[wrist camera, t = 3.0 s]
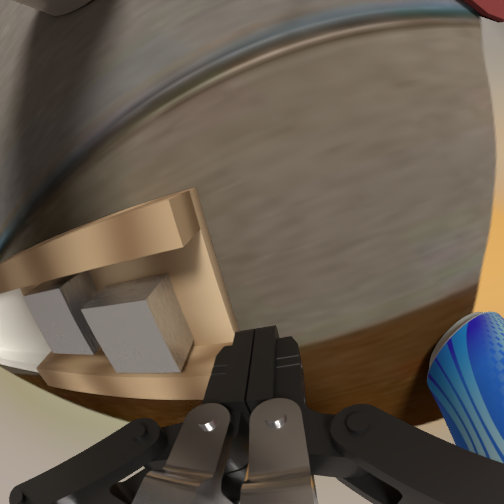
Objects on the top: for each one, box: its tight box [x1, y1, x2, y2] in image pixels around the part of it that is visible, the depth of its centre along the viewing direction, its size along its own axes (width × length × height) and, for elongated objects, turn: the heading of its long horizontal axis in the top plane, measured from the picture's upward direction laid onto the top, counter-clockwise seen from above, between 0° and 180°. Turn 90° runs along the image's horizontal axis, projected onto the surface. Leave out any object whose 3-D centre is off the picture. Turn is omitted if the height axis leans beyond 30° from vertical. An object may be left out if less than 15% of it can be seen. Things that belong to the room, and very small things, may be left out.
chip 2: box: [81, 273, 194, 373], centre depth 14 cm, size 4×4×3 cm
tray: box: [0, 288, 52, 372], centre depth 18 cm, size 15×10×3 cm, turn 104°
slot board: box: [0, 187, 239, 400], centre depth 15 cm, size 18×11×4 cm, turn 104°
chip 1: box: [23, 270, 100, 355], centre depth 14 cm, size 4×4×3 cm
